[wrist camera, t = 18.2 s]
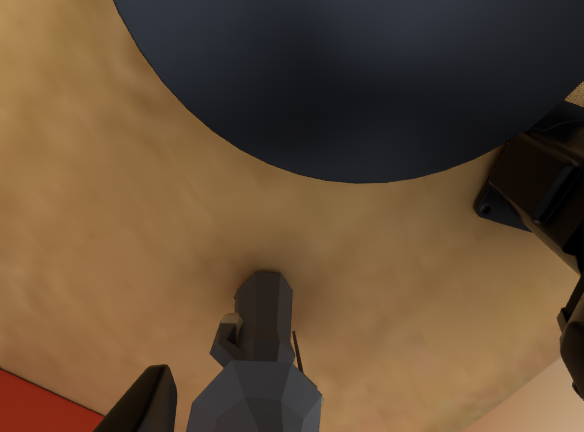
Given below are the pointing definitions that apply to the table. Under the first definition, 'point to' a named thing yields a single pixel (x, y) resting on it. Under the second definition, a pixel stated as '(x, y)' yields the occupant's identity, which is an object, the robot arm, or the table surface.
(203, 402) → the wizard figurine
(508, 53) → the lid
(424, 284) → the table surface
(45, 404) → the file binder
